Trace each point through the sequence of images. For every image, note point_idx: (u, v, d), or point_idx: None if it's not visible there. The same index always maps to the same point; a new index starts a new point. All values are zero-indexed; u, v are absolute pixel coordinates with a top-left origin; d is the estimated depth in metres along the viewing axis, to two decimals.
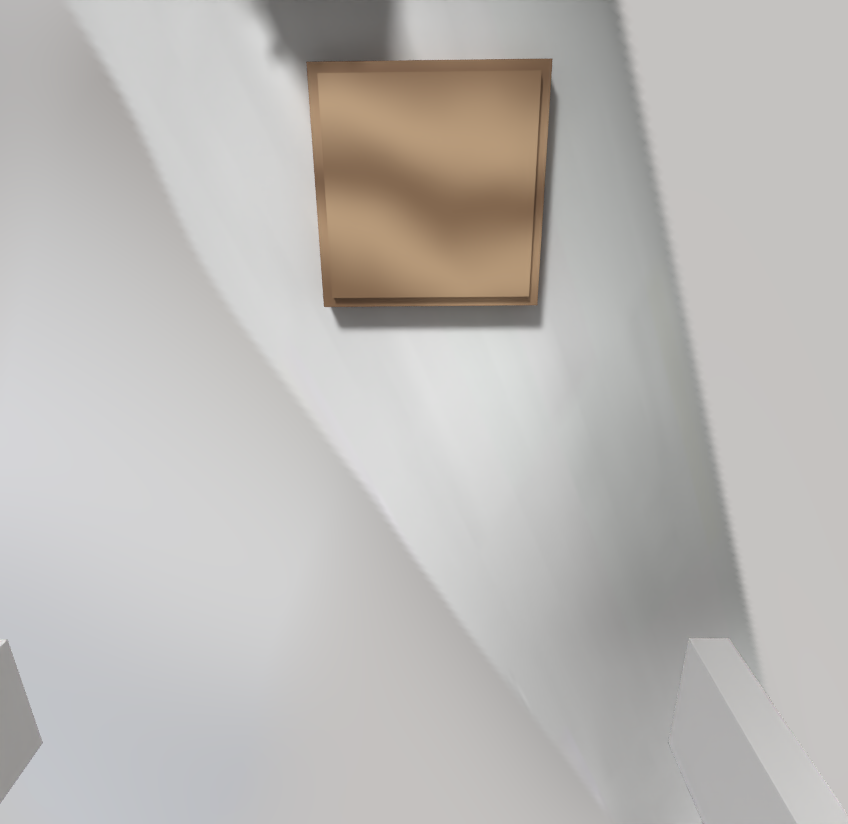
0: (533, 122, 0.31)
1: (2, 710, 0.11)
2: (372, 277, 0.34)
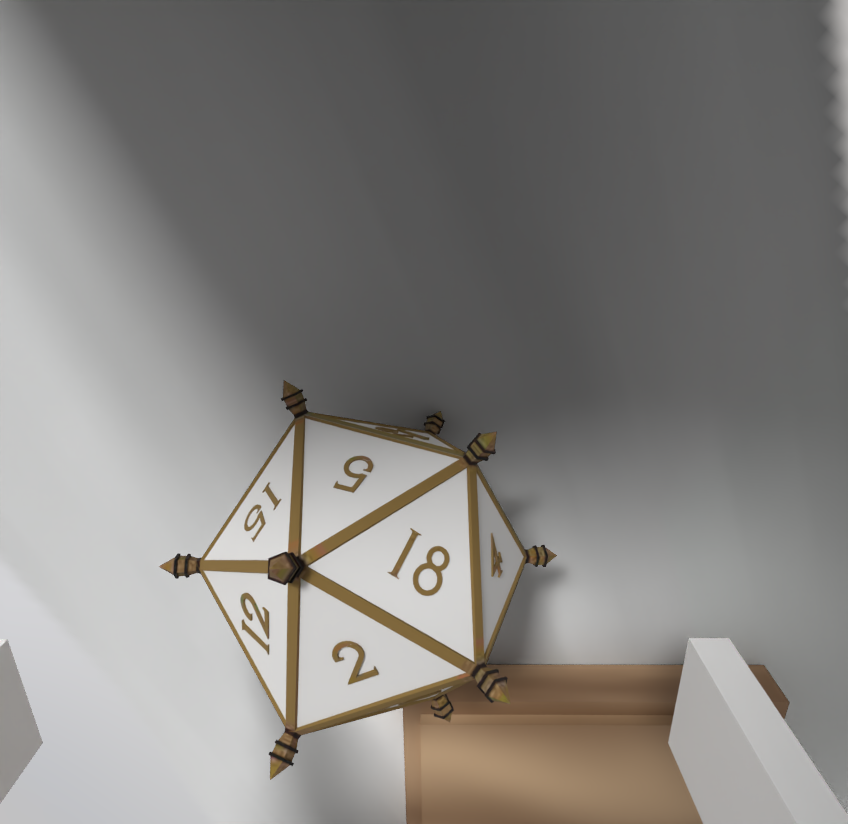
0: None
1: (2, 710, 0.11)
2: None
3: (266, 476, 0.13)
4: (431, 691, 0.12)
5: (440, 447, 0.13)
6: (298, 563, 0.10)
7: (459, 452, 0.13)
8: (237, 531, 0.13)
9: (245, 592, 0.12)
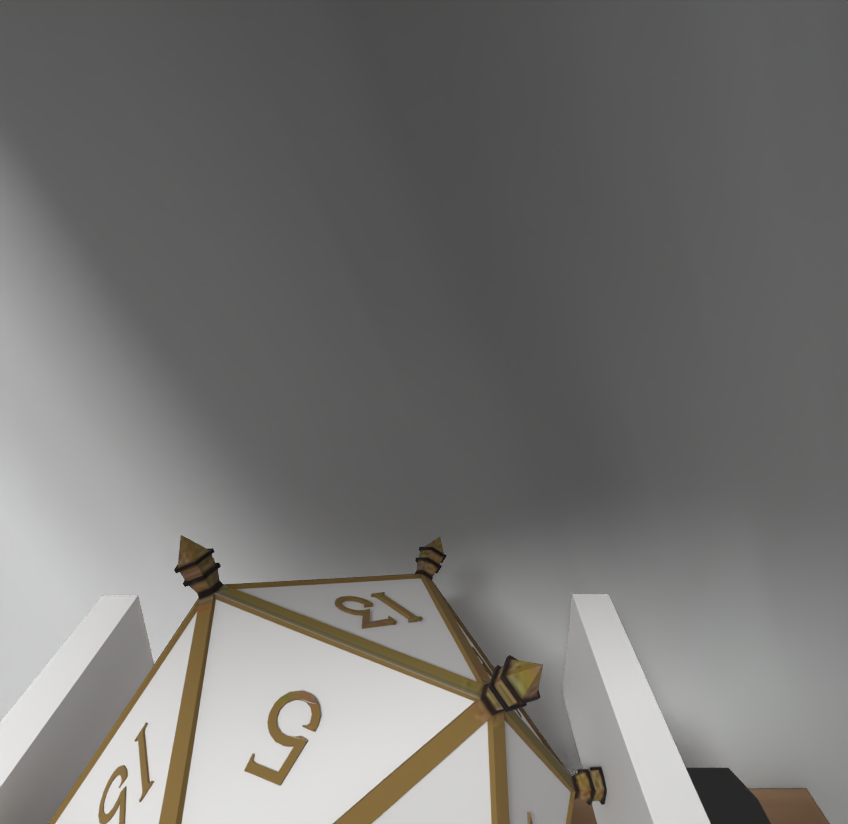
0: None
1: (135, 658, 0.12)
2: None
3: (146, 704, 0.08)
4: None
5: (440, 672, 0.07)
6: None
7: (474, 685, 0.07)
8: (90, 810, 0.08)
9: None
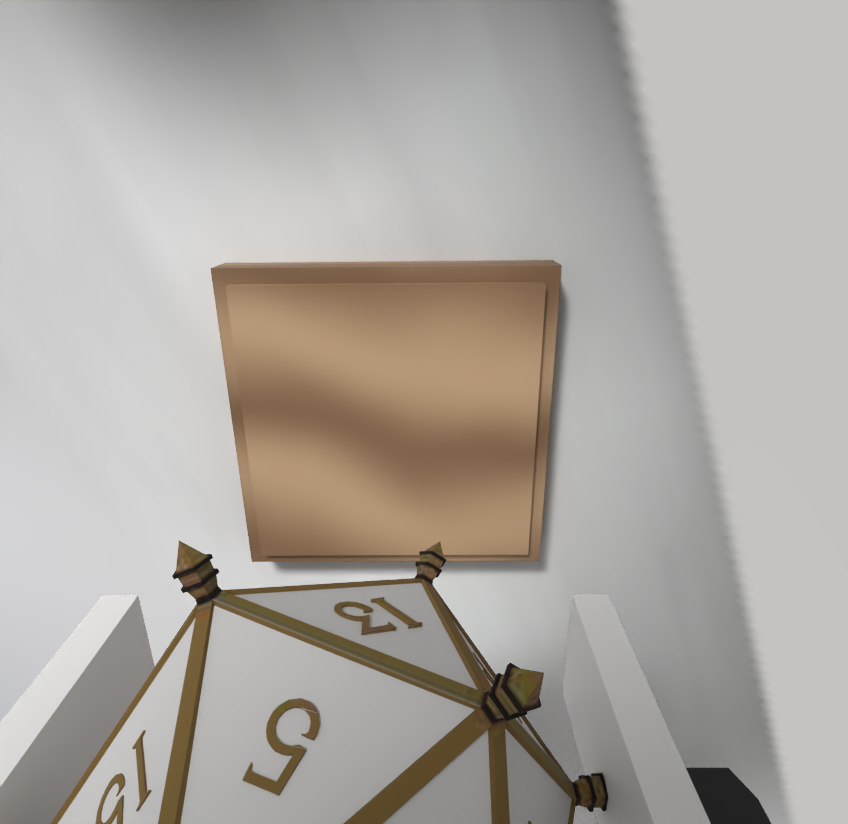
0: (534, 348, 0.22)
1: (135, 658, 0.12)
2: (314, 532, 0.25)
3: (144, 711, 0.08)
4: None
5: (440, 679, 0.07)
6: None
7: (474, 693, 0.07)
8: (87, 819, 0.07)
9: None
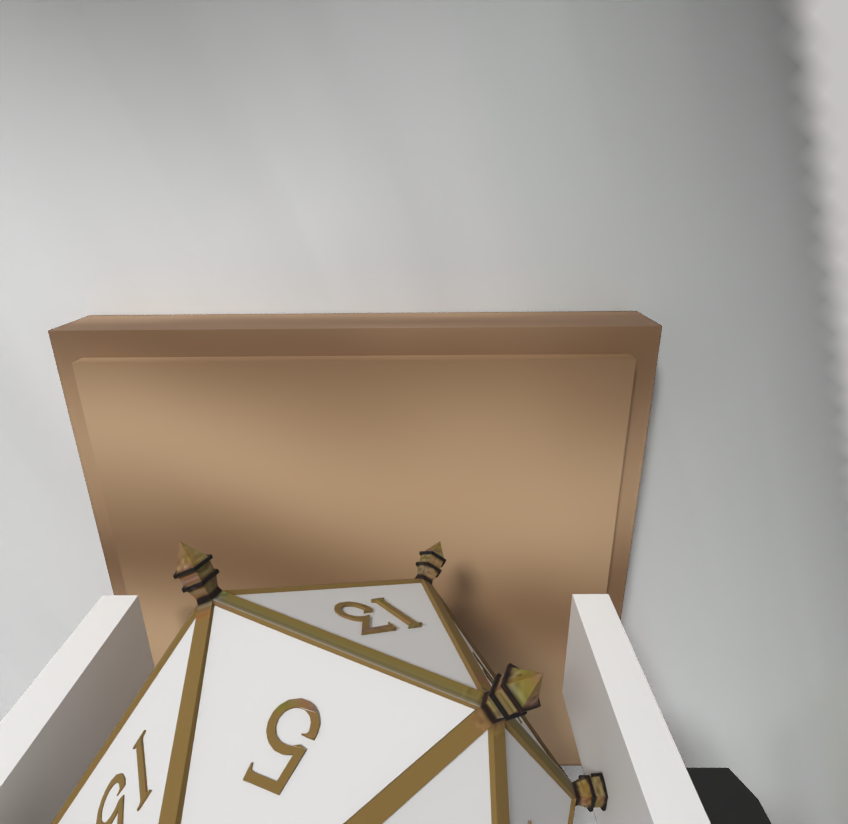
0: (610, 465, 0.13)
1: (135, 658, 0.12)
2: None
3: (144, 711, 0.08)
4: None
5: (440, 679, 0.07)
6: None
7: (474, 693, 0.07)
8: (88, 818, 0.07)
9: None
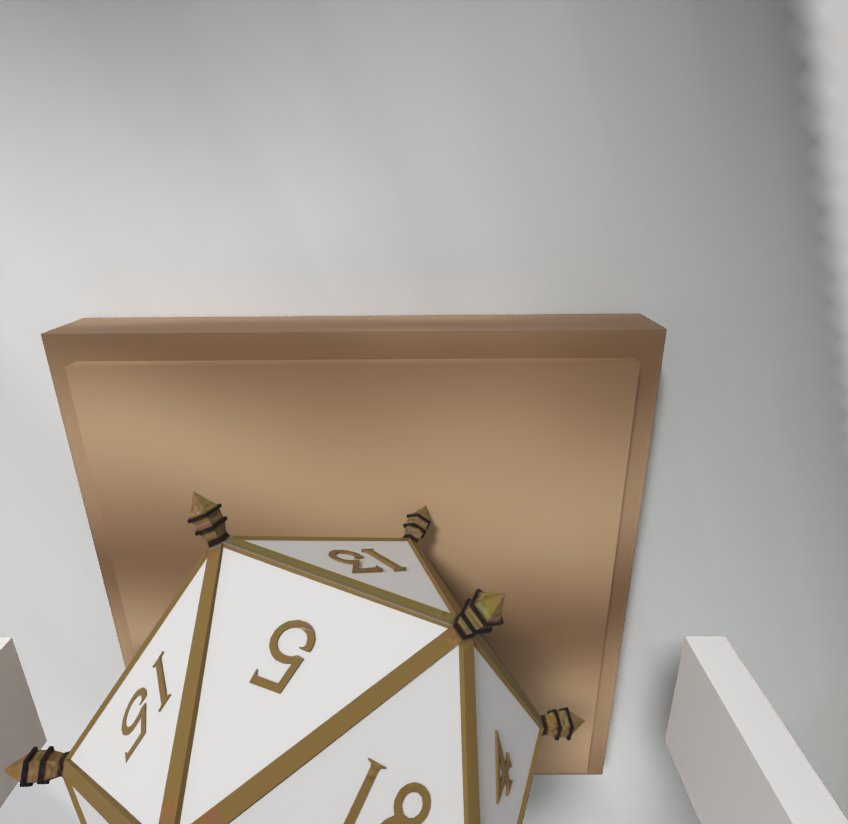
0: (613, 471, 0.13)
1: (7, 708, 0.11)
2: None
3: (162, 637, 0.09)
4: None
5: (419, 605, 0.08)
6: None
7: (448, 615, 0.08)
8: (113, 727, 0.09)
9: None
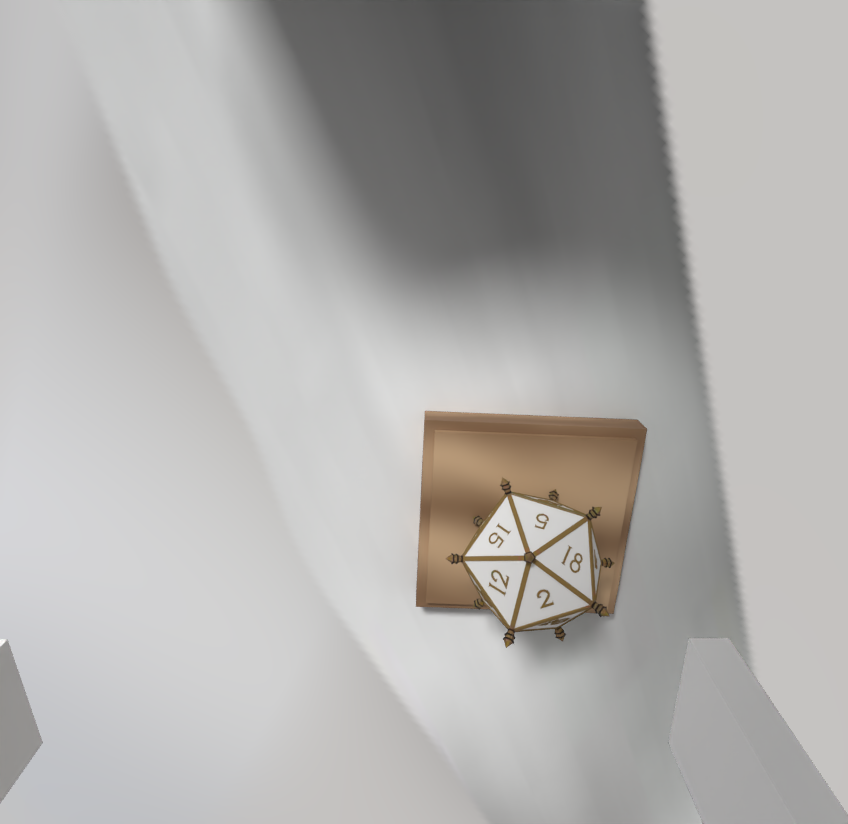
0: (626, 478, 0.34)
1: (2, 710, 0.11)
2: (465, 588, 0.37)
3: (495, 520, 0.30)
4: (573, 613, 0.28)
5: (575, 511, 0.30)
6: (534, 556, 0.27)
7: (583, 514, 0.30)
8: (484, 543, 0.30)
9: (494, 569, 0.29)
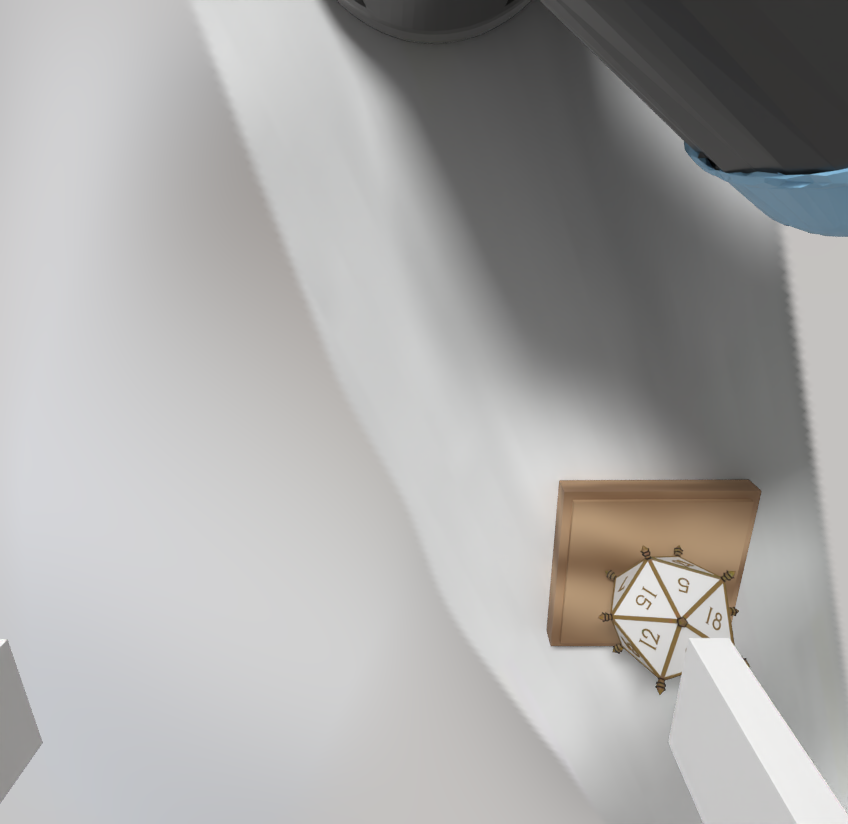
0: (742, 534, 0.39)
1: (2, 710, 0.11)
2: (595, 630, 0.42)
3: (639, 583, 0.35)
4: None
5: (710, 574, 0.35)
6: None
7: (718, 576, 0.34)
8: (632, 604, 0.35)
9: (645, 628, 0.34)
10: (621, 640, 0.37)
